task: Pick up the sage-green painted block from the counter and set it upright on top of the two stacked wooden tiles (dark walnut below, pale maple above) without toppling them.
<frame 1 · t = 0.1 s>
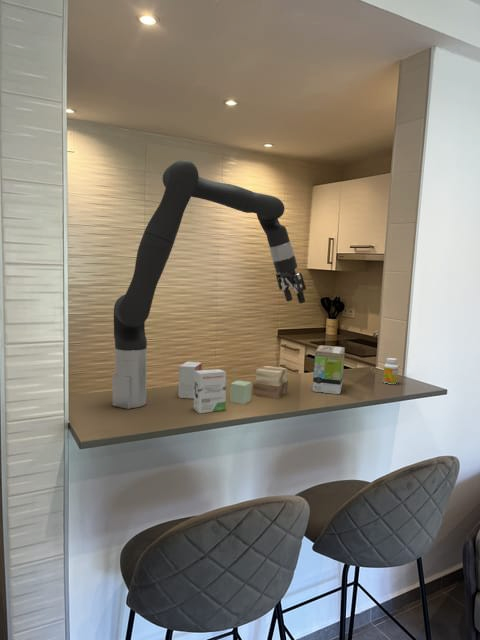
hand: (295, 301, 157), 31 cm above the table, tool tilted 20°, fingers open, 8 cm apart
small box: (190, 395, 149), on the table
maple block: (271, 382, 154), point 4 cm above the table, touching walnut block
sage block: (240, 401, 145), on the table
ink box: (209, 410, 135), on the table
tea box: (327, 388, 165), on the table
supplement bottle: (390, 383, 176), on the table
walnut block: (270, 395, 154), on the table, touching maple block
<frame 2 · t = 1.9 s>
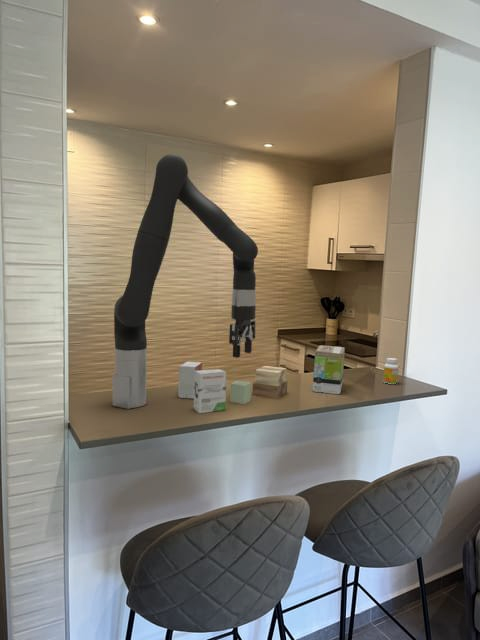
hand: (242, 355, 143), 15 cm above the table, tool pointing down, fingers open, 8 cm apart
maple block: (270, 382, 153), point 4 cm above the table
walnut block: (269, 394, 154), on the table
everything else where it was.
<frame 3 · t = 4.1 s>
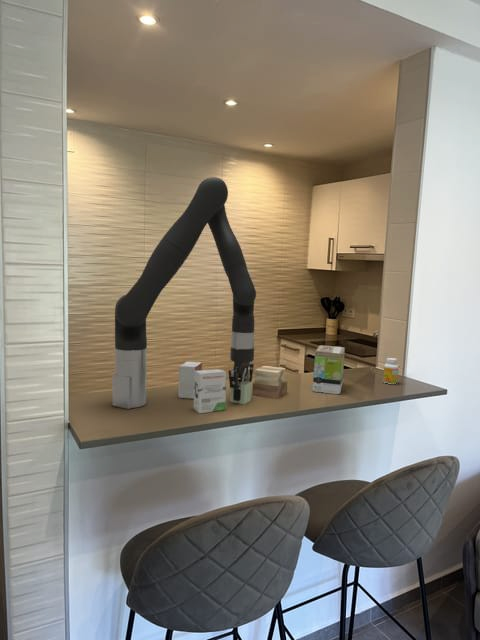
hand: (240, 398, 145), 1 cm above the table, tool pointing down, fingers closed on sage block, 5 cm apart
maple block: (269, 382, 154), point 4 cm above the table, touching walnut block
sage block: (240, 401, 145), on the table, touching gripper
walnut block: (269, 395, 154), on the table, touching maple block
everything else where it was.
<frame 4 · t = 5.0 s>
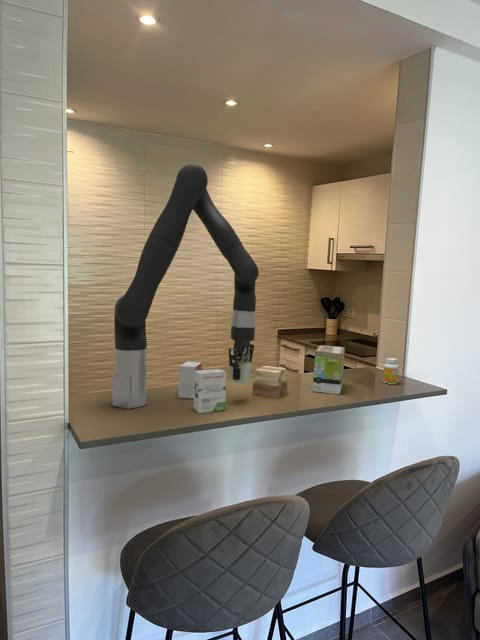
hand: (240, 377, 143), 8 cm above the table, tool pointing down, fingers closed on sage block, 5 cm apart
sage block: (240, 381, 144), point 7 cm above the table, touching gripper
everything else where it was.
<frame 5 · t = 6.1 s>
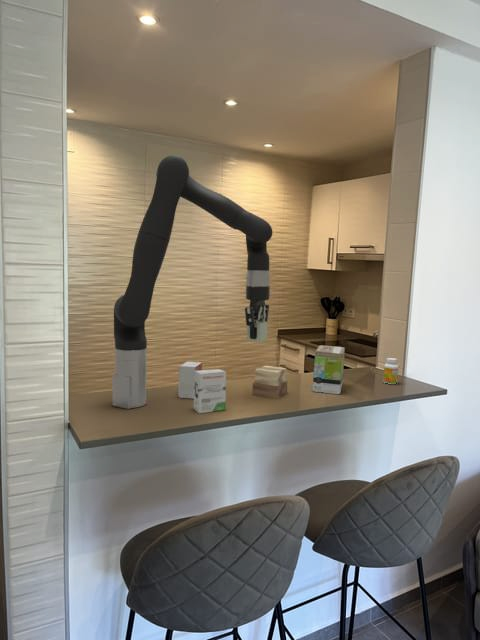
hand: (256, 337, 146), 20 cm above the table, tool pointing down, fingers closed on sage block, 5 cm apart
sage block: (256, 340, 146), point 19 cm above the table, touching gripper
everything else where it was.
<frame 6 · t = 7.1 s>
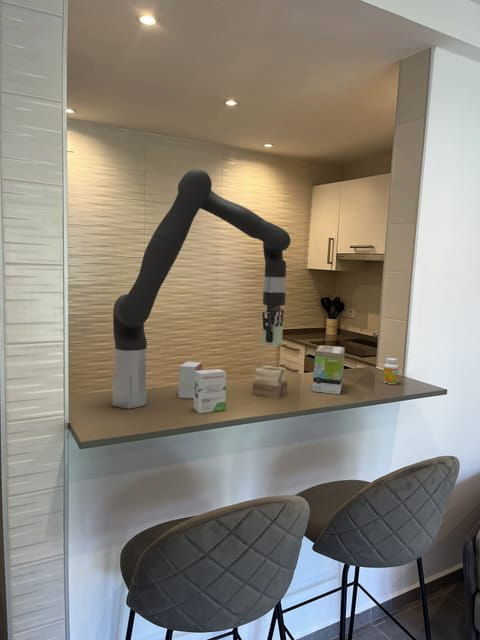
hand: (272, 341, 152), 18 cm above the table, tool pointing down, fingers closed on sage block, 5 cm apart
sage block: (272, 343, 152), point 17 cm above the table, touching gripper
everything else where it was.
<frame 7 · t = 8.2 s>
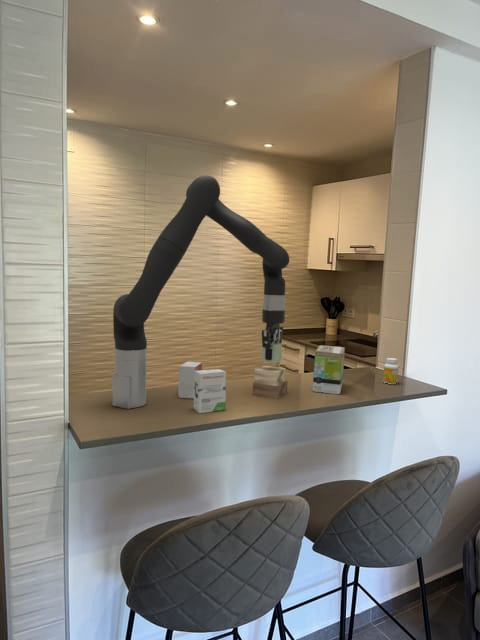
hand: (271, 358, 153), 12 cm above the table, tool pointing down, fingers closed on sage block, 5 cm apart
sage block: (271, 361, 153), point 11 cm above the table, touching gripper
everything else where it was.
when the fingers open (11 cm above the table, at t = 9.1 s): sage block drops 1 cm, resting on maple block.
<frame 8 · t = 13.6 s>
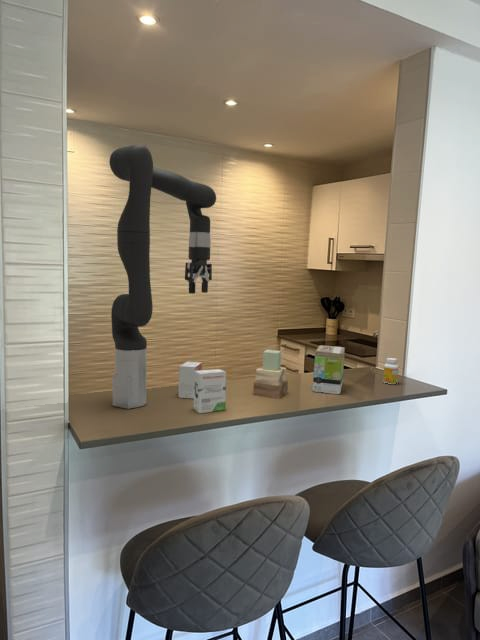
hand: (198, 293, 159), 33 cm above the table, tool pointing down, fingers open, 8 cm apart
maple block: (270, 381, 154), point 4 cm above the table, touching sage block, walnut block
sage block: (271, 368, 153), point 9 cm above the table, touching maple block
everything else where it was.
at the end: sage block 0.3 cm from the maple block (horizontally); sage block point 8.7 cm above the table; sage block tilted 0° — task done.
